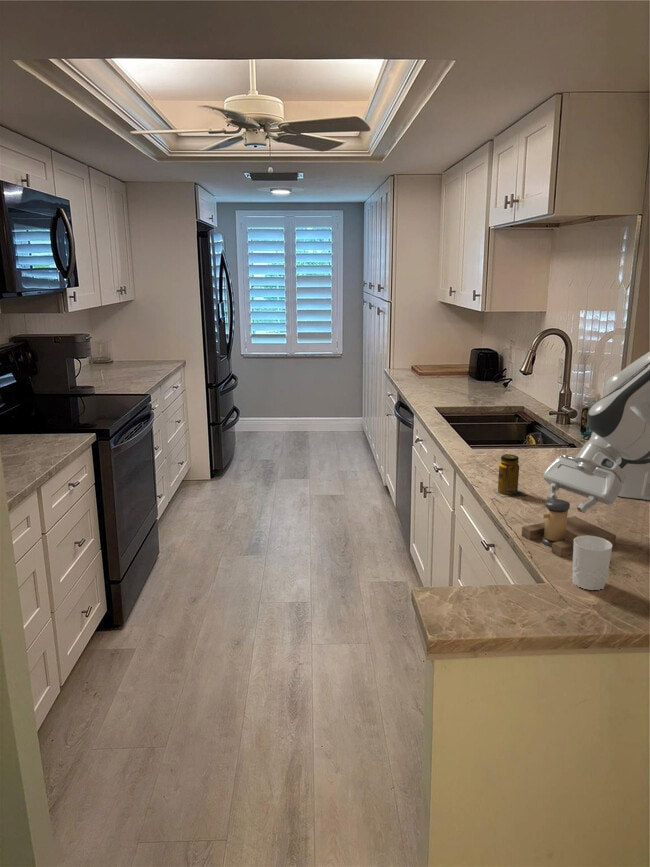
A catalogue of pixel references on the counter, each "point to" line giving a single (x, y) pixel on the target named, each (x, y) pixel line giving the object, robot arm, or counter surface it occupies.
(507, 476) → the condiment
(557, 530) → the tan grey capped cylinder
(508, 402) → the counter surface
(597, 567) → the white cup
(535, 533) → the notched board
